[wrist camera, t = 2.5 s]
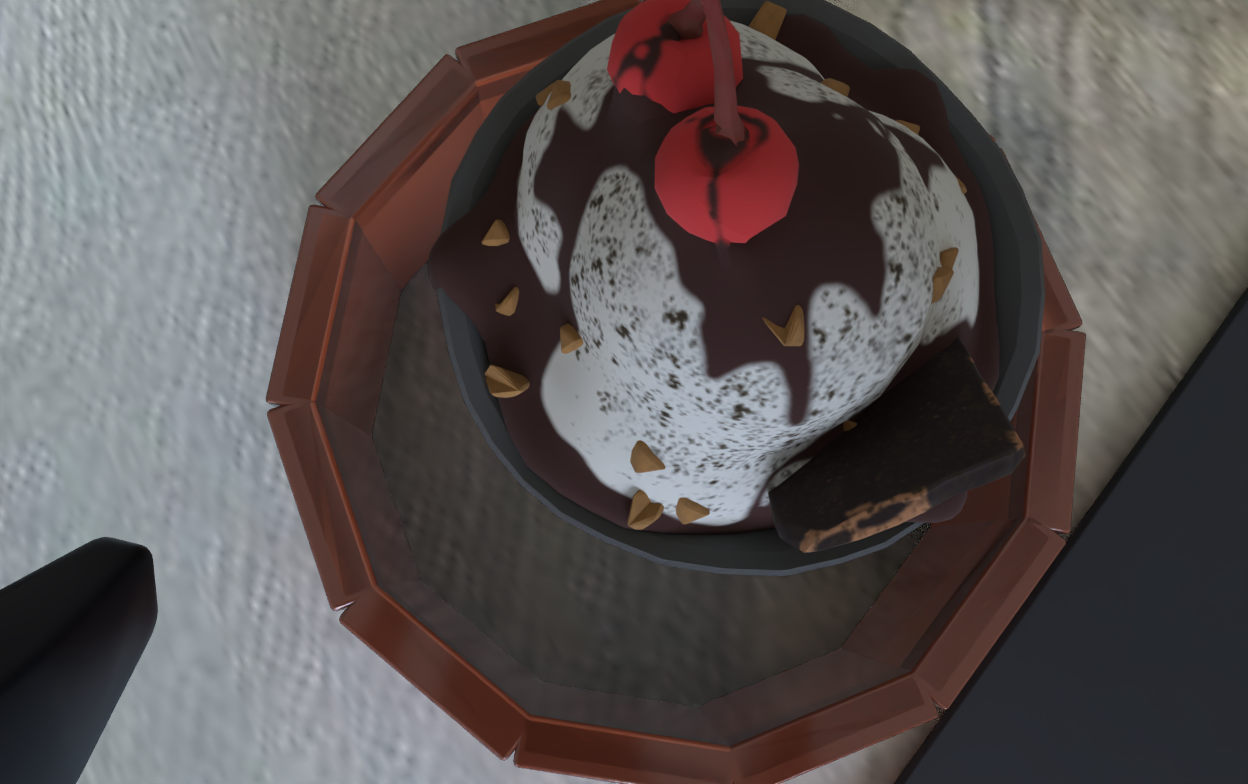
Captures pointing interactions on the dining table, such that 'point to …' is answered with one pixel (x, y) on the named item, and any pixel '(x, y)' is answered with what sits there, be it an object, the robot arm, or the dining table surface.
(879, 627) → the serving tub
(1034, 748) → the placemat
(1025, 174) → the dining table surface
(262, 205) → the dining table surface
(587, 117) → the sundae
